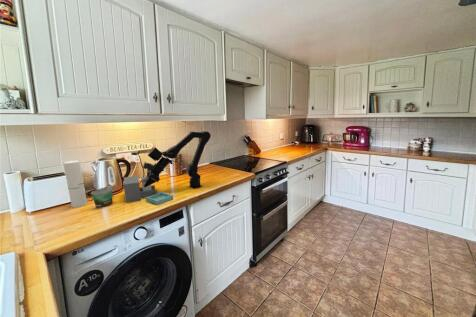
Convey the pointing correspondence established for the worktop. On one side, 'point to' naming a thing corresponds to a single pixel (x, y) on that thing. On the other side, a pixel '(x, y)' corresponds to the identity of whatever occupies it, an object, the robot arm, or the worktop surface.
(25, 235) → the worktop surface
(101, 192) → the food container
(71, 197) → the grey rectangular column
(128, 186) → the coffee machine bay
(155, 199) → the teal tray
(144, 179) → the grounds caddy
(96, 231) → the worktop surface
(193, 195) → the worktop surface
